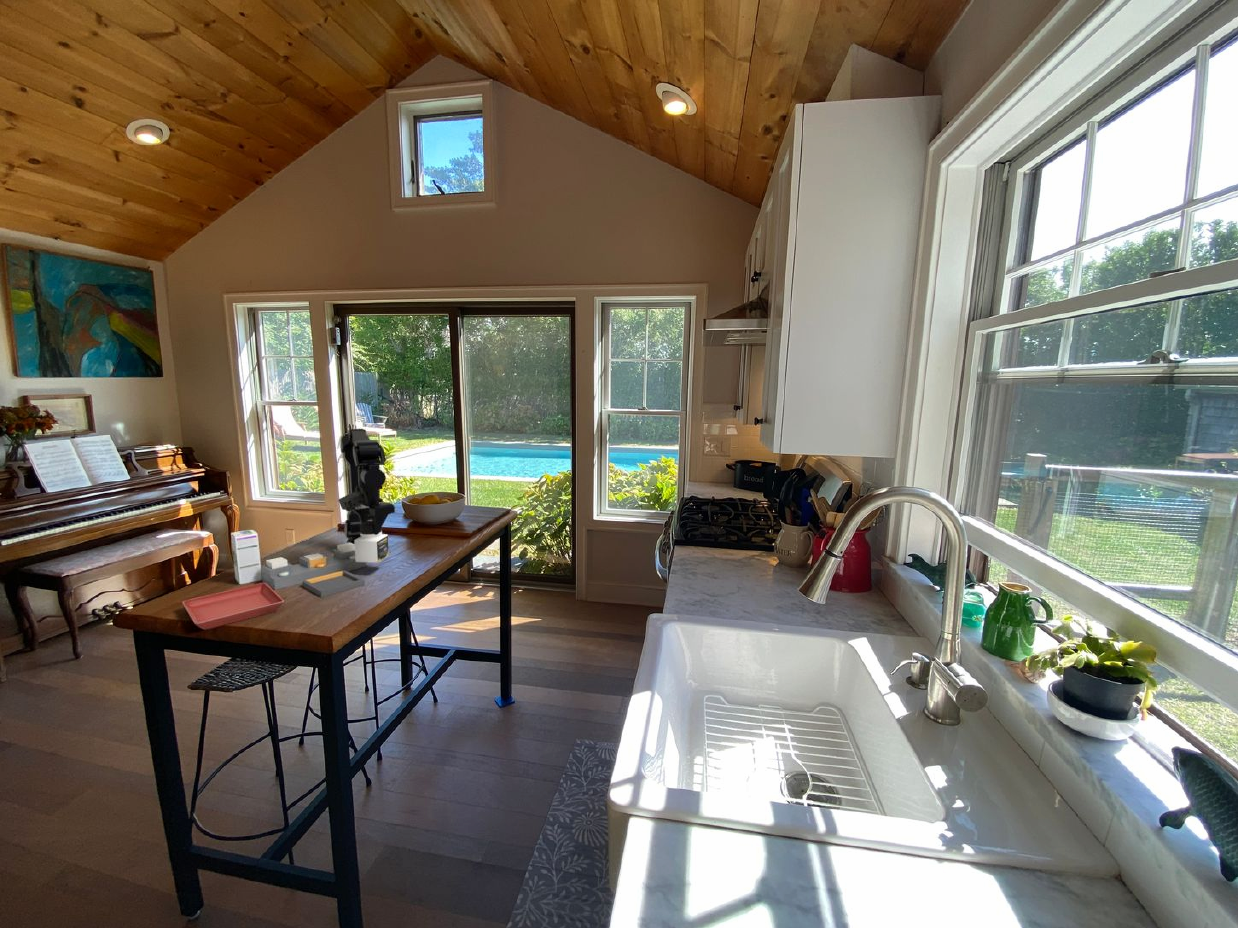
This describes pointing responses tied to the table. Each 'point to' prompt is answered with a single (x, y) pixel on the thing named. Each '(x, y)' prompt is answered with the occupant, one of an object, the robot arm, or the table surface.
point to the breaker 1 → (276, 563)
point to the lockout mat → (333, 583)
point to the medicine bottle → (370, 544)
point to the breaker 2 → (346, 547)
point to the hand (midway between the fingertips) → (371, 532)
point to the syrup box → (246, 556)
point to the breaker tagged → (313, 556)
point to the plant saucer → (232, 605)
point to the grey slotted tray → (309, 569)
